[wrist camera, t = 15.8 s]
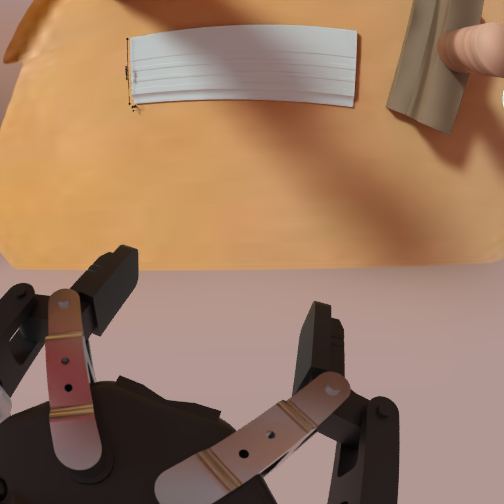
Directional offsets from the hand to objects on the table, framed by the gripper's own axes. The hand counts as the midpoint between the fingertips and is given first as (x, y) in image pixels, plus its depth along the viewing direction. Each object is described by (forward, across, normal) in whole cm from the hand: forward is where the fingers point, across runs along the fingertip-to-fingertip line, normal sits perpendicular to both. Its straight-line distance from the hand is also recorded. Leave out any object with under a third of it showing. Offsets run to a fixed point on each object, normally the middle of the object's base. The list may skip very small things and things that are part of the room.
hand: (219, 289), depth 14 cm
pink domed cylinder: (+25, -16, -18) cm, 35 cm away
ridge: (+33, -16, -18) cm, 41 cm away
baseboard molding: (+34, +9, -8) cm, 36 cm away
